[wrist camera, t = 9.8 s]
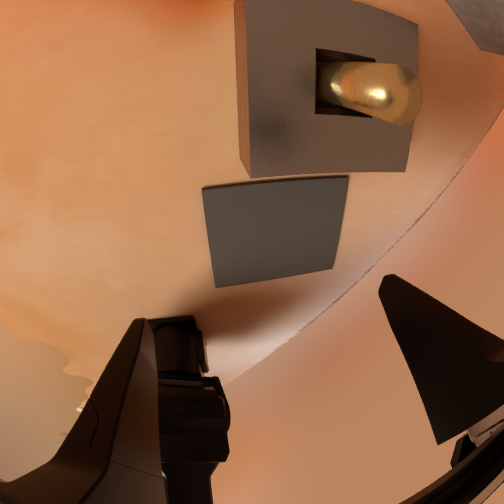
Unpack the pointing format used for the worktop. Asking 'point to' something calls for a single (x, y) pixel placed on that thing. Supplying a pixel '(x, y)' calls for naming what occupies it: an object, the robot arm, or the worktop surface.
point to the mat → (273, 228)
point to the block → (303, 86)
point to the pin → (370, 89)
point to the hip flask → (482, 22)
